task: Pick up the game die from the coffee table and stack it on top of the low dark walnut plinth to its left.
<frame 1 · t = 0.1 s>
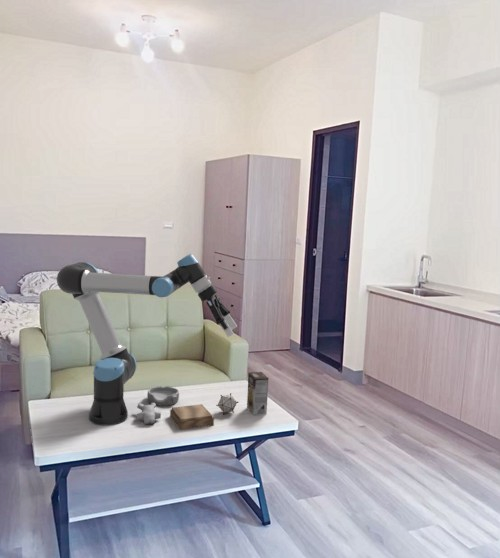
hand: (232, 331, 223), 36 cm above the table, tool tilted 35°, fingers open, 13 cm apart
game die: (226, 413, 230), on the table
dish: (163, 401, 241), on the table
grey teddy bear: (148, 419, 220), on the table
coffee box: (256, 411, 233), on the table
plinth: (191, 420, 219), on the table
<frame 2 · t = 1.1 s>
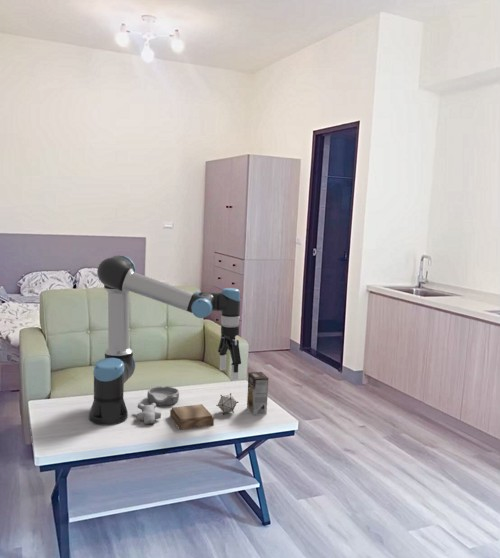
hand: (228, 374, 227), 17 cm above the table, tool pointing down, fingers open, 13 cm apart
nothing on the table moved.
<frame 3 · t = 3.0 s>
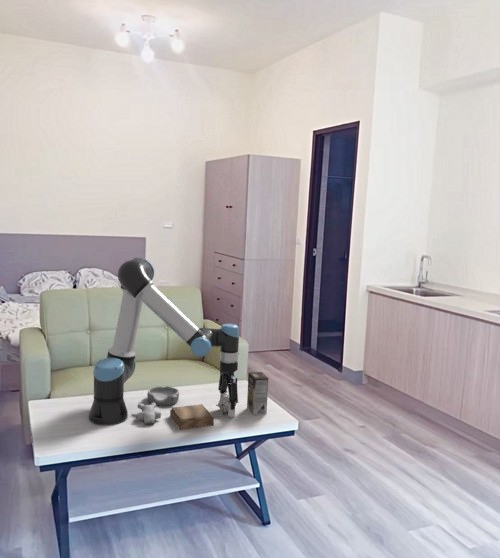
hand: (227, 412, 230), 0 cm above the table, tool pointing down, fingers closed on game die, 9 cm apart
game die: (226, 413, 230), on the table, touching gripper
everything else where it was.
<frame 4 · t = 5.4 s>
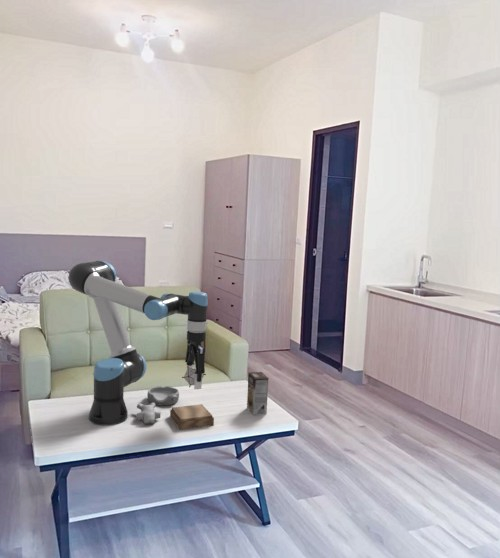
hand: (193, 384, 218), 15 cm above the table, tool pointing down, fingers closed on game die, 9 cm apart
game die: (193, 385, 218), point 14 cm above the table, touching gripper
everything else where it was.
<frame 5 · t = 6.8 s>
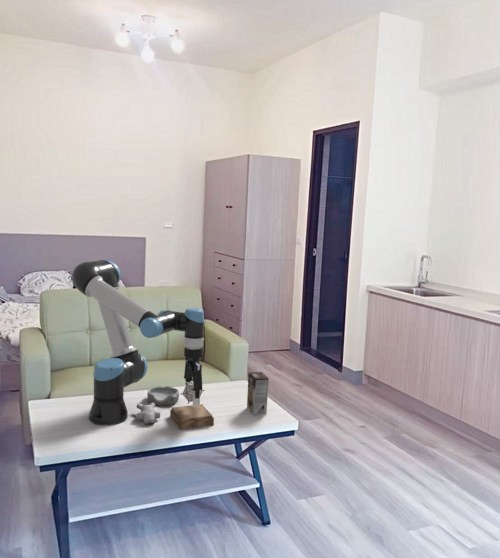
hand: (192, 401, 218), 8 cm above the table, tool pointing down, fingers closed on game die, 9 cm apart
game die: (192, 402, 218), point 8 cm above the table, touching gripper
everything else where it was.
when the fingers open (5 cm above the table, at t = 7.9 s): game die drops 1 cm, resting on plinth.
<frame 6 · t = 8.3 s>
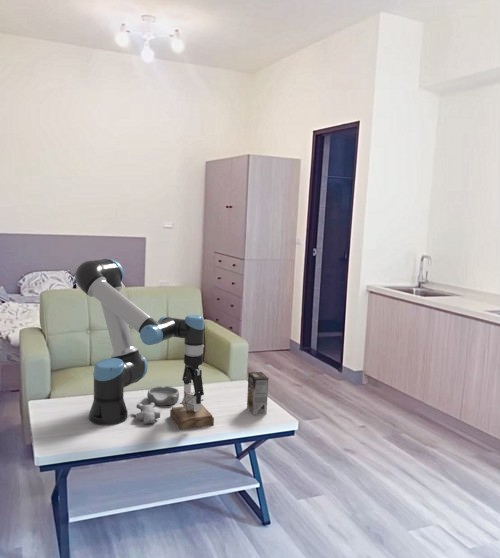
hand: (192, 405, 218), 7 cm above the table, tool pointing down, fingers open, 13 cm apart
game die: (191, 411, 219), point 4 cm above the table, touching plinth
everything else where it was.
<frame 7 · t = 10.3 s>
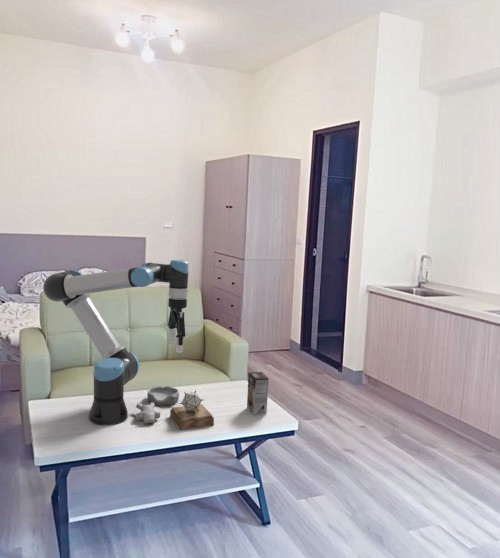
hand: (175, 348, 224), 28 cm above the table, tool pointing down, fingers open, 13 cm apart
nothing on the table moved.
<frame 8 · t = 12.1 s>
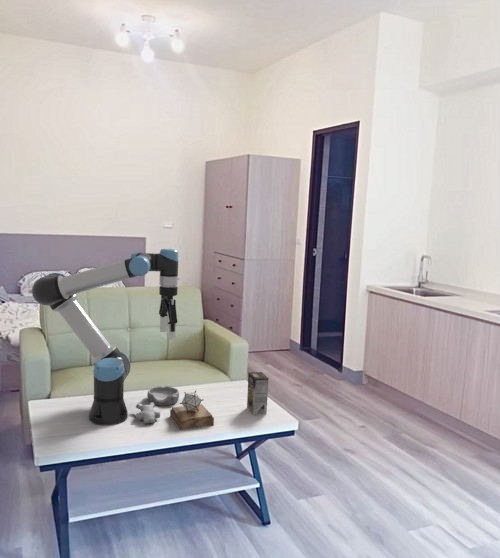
hand: (167, 335, 229), 32 cm above the table, tool pointing down, fingers open, 13 cm apart
nothing on the table moved.
at the end: game die inside the target area on the plinth (0.4 cm from its centre), point 3.8 cm above the plinth's base; the gripper is holding nothing; game die touching plinth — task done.
